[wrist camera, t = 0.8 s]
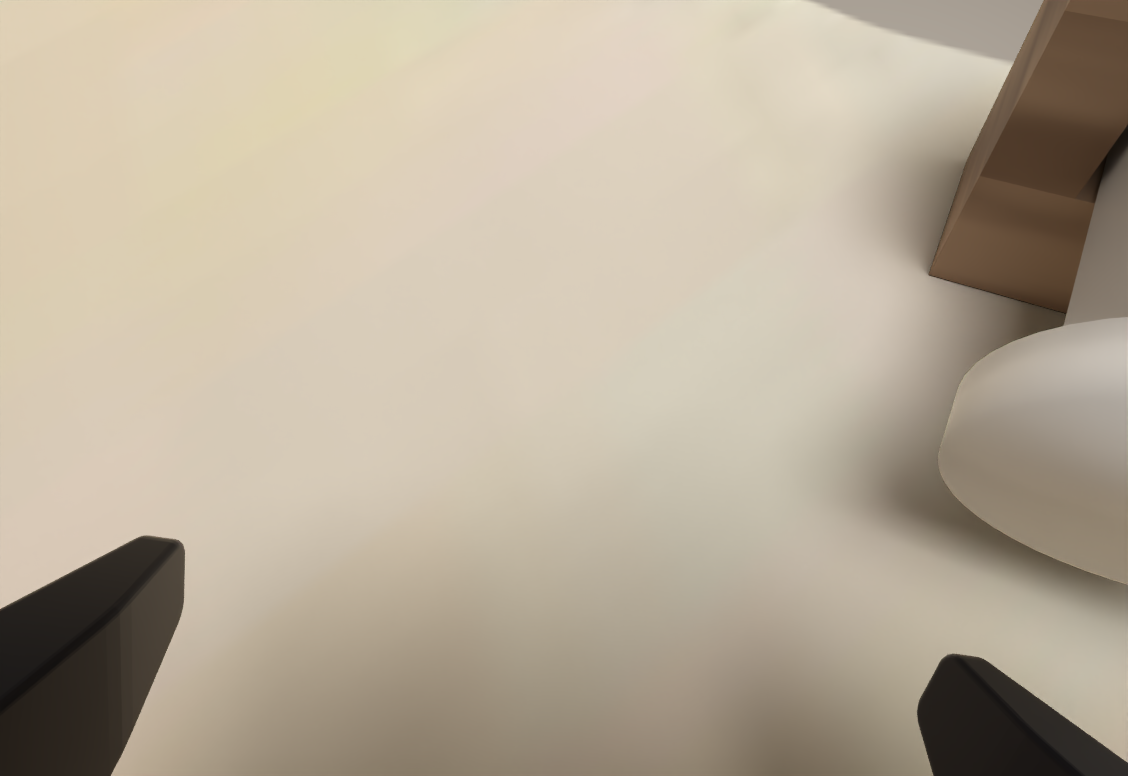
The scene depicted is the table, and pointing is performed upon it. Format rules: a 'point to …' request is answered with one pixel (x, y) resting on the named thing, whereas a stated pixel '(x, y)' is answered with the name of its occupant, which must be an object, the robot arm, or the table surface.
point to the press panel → (1041, 158)
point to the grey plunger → (1057, 412)
